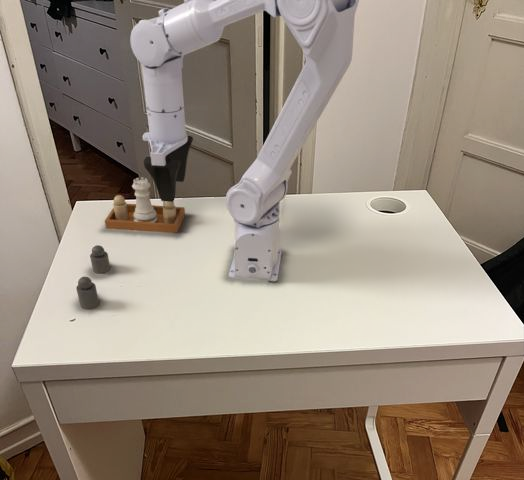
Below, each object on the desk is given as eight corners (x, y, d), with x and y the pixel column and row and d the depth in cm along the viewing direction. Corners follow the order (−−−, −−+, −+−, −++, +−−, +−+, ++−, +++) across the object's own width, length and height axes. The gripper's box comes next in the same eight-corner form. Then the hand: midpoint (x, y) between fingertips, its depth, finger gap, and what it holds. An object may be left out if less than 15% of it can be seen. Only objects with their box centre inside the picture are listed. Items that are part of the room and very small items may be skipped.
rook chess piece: (161, 223, 105) (156, 183, 100) (138, 229, 103) (132, 187, 98) (153, 213, 108) (148, 173, 103) (130, 218, 106) (124, 177, 101)
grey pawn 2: (107, 276, 92) (102, 251, 89) (91, 275, 93) (85, 250, 89) (113, 267, 94) (108, 242, 91) (96, 266, 95) (91, 241, 92)
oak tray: (177, 235, 103) (176, 225, 102) (106, 230, 104) (104, 220, 103) (185, 216, 108) (184, 207, 107) (118, 212, 109) (116, 202, 108)
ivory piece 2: (175, 226, 105) (173, 202, 101) (162, 225, 105) (160, 201, 102) (178, 220, 106) (176, 196, 103) (165, 219, 106) (163, 195, 103)
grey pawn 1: (95, 310, 86) (89, 283, 82) (77, 308, 86) (71, 282, 83) (101, 299, 88) (96, 273, 84) (84, 298, 88) (78, 271, 85)
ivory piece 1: (126, 223, 105) (123, 198, 102) (114, 222, 105) (110, 198, 102) (130, 216, 107) (126, 193, 104) (118, 216, 107) (114, 192, 104)
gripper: (151, 91, 93) (160, 171, 101) (126, 121, 82) (138, 208, 91) (194, 93, 92) (199, 173, 101) (174, 124, 81) (181, 211, 90)
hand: (173, 190), depth 96 cm, fingers open, 7 cm apart
